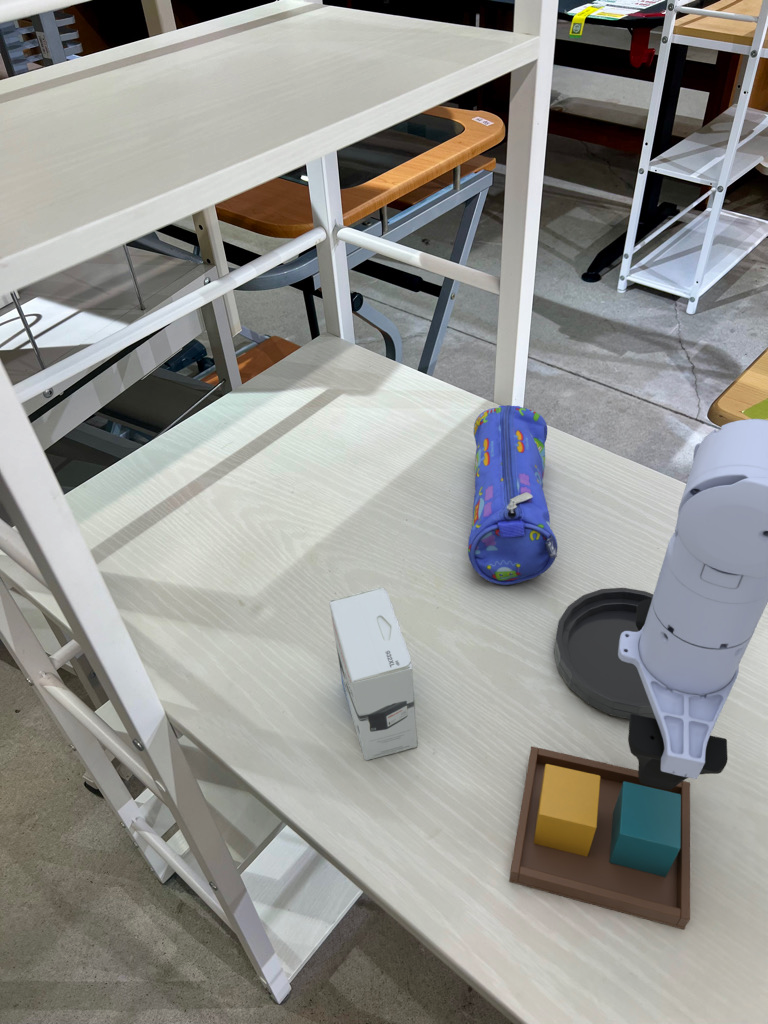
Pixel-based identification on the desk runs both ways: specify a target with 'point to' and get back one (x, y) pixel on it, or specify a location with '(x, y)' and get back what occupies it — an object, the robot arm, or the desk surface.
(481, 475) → the pencil case
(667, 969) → the desk surface
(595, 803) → the mustard block
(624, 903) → the tray
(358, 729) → the ink box
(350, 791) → the desk surface
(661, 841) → the teal block
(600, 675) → the pan
